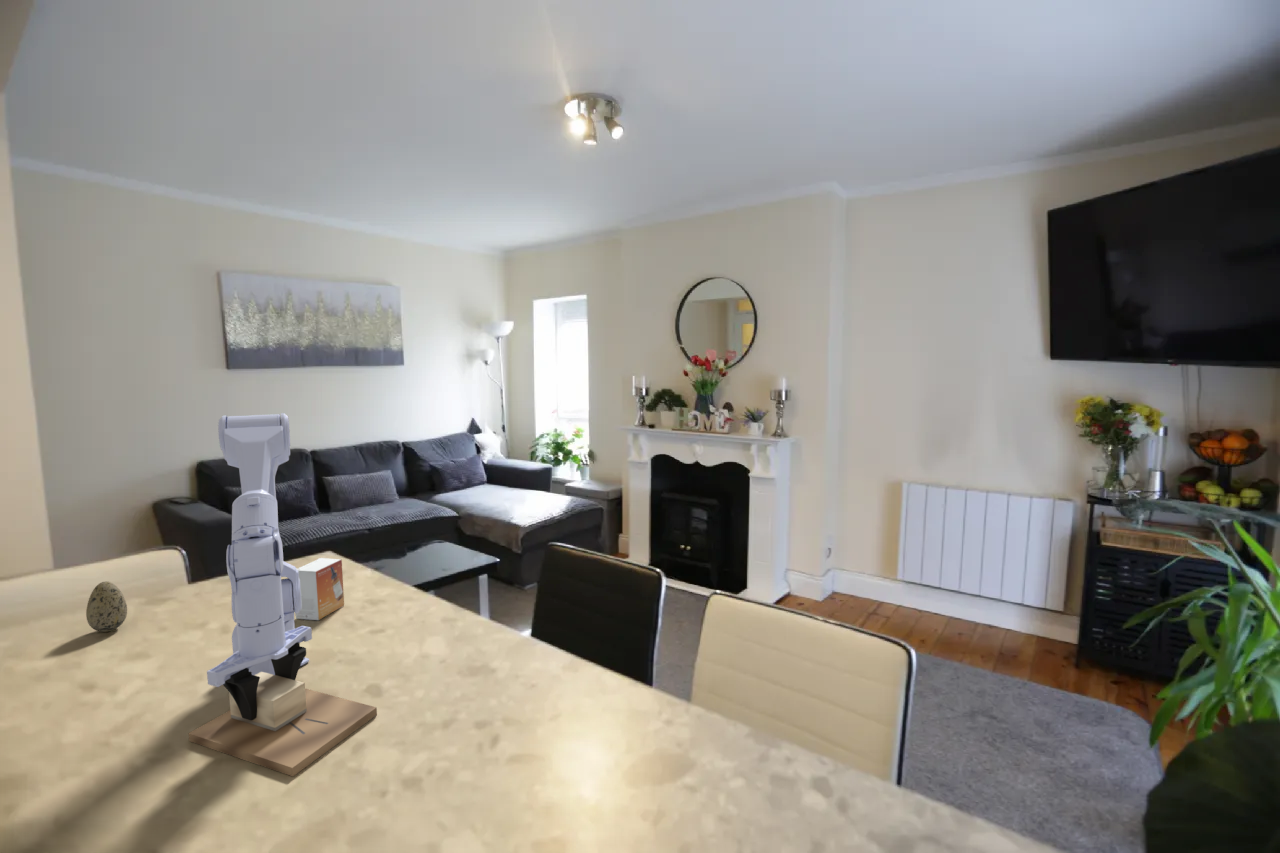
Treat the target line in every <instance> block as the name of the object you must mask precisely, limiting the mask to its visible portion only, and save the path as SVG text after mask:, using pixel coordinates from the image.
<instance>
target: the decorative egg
mask: <svg viewBox="0 0 1280 853" xmlns="http://www.w3.org/2000/svg"><path fill="white" fill-rule="evenodd" d="M85 610H86V611H85V613H86V614H85V615H86V621H87V623H88V624H87V625H89V627H90V628H91V629H93V631H97V632H99V633H100V632H101V633H108V632H111V631H114V630H116V629H118V628H119V627H121V625H122V624H124V622H125V620H126V618H127V615H128V604H127V601H126V599H125V596H124V594H123V593H122V591H121V590H120V588H119V587H118V586H117V585H116V584H114V583H113V582H111V581H102V582H100V583H98V584H97V585H96V586H95V587H94V588H93V589H92V591H91V593H90V596H89V598H88V600H87V606H86V609H85Z"/></svg>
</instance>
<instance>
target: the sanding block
mask: <svg viewBox="0 0 1280 853" xmlns="http://www.w3.org/2000/svg"><path fill="white" fill-rule="evenodd" d="M255 676H258V677H260V679H259V683H258V687H257V696H256V701H257V716H256V718H255V719H254V720H248V719H244V718H242V716H241V713H240V710H239V708H238V706H237V704H236V702H235V700H234V698H233V697H232V695H231V694H230V692H229V691H228V698H229V699H228V700H229V708H230V709H229V710H230V711H231V718H234V719H237V720H240V721H243V722H247V723H250V724H253V725H257V726H260V727H263V728H266V729H270V730H273V731H277V730H278V729H280V728H281V727H283V726H285V725H286V724H288V723H289V722H291V721H292V720H294V719H296V718H297V717H299V716H300V715H302V714H303V713H305V712H306V711H307V708H306V694H305V689H306V684H305V682H304V681H303V682H302V681H299V680H297V679H295V680H292V679H288V678H284V677H280V676H277V675H273V674H269V673H265V672H260V673H258V674H256V675H255Z"/></svg>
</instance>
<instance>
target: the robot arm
mask: <svg viewBox="0 0 1280 853" xmlns="http://www.w3.org/2000/svg"><path fill="white" fill-rule="evenodd" d="M217 423H218V424H217V426H218V433H217V434H218V441H219V442H218V443H219V447H220V450H221V452H222V455H223V459H224V460H225V461H226V462H227V466H231V467H234V468H237V469H238V470H239V480H240V488H241V494H240V495H239V496H238V497H236V498H235V499H234V501H233V502H232V505H231V544H228V545H227V548H226V554H225V555H226V558H225V559H226V560H225V562H226V570H227V575H228V578H229V581H230V587H231V614H232V620H233V622H234V623H235V624H236V625H235V626H234V628H233V630H232V633H231V645H232V654H231V655H230V656H229V657H227V658H226V659H224V660H223V661H222V662H220V663H219V664H217V665H215V666H214V667H213V668H211V669H208V670H207V671H206V676H207V684H208V685H209V686H212V687H216V688H220V687H221V686H223V687H224V688H225V689H226V690H227V691H228V693H229V692H230V694H231V695H232V697H233V698H234V700H235V702H236V704H237V706H238V708H239V710H240V713H241V716H242V718H244V719H248V720H254V719H255V718H256V716H257V701H256V696H257V687H258V683H259V679H260V677H258V676H255V675H256V674H258V673H260V672H265V673H269V674H273V675H277V676H280V677H284V678H288V679H292V680H297V675H298V672H299V670H300V668H301V667H302V666H304V665H305V664H307V663H309V662H310V658H308V657H306V656H307V648H306V647H304V646H300V645H301V643H302V642H306V643H307V642H309V641H311V640H312V639H313V635H312V633H313V632H312V627H310V626H307V625H306V626H305V625H301V626H298V627H295V625H296V624H295V613H299V611H300V610H301V609H302V603H301V587H300V579H299V572H298V570H297V567H296V566H295V565H293V564H290V563H288V562H286V561H284V552H283V550H284V549H283V548H284V547H283V541H282V538H281V533H280V528H279V515H278V514H279V512H278V509H279V508H278V500H277V493H276V492H277V491H276V475H277V471H278V469H279V466H280V465H283V464H285V463H286V462H288V461H289V460H290V456H291V434H290V431H291V430H290V420H289V416H288V415H287V414H286V413H285V412H281V413H280V414H279V413H276V414H275V413H271V414H253V415H252V414H250V415H230V416H229V415H226V414H224V415H221V417H220V418H219V419H218V422H217Z"/></svg>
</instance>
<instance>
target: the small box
mask: <svg viewBox="0 0 1280 853" xmlns="http://www.w3.org/2000/svg"><path fill="white" fill-rule="evenodd" d="M296 569H297V570H298V572H299V579H300V587H301V603H302V609H301V610H300V611H299V613H295V612H294V615H295V619H298V620H307V621H320V620H322V619H323V618H324V617H327V616H329V615H330V614H332V613H333V612H335V611H337V610H339V609H341V608H343V607H344V606H345V594H344V593H345V592H344V591H345V590H344V578H343V560H342V559H339V558H327V557H319V558H317V559H316V560H313V561H311V562H309V563H307V564H304V565H302V566H299V567H296Z"/></svg>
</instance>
